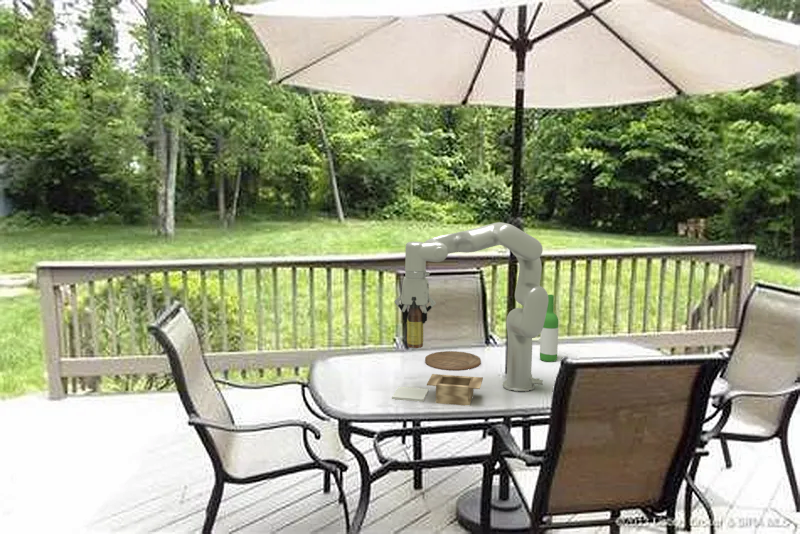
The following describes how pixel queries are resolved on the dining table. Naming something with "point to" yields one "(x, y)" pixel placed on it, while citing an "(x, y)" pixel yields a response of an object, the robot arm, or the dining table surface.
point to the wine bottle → (549, 334)
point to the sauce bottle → (414, 326)
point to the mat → (410, 394)
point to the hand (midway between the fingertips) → (414, 321)
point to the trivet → (452, 360)
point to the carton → (454, 388)
